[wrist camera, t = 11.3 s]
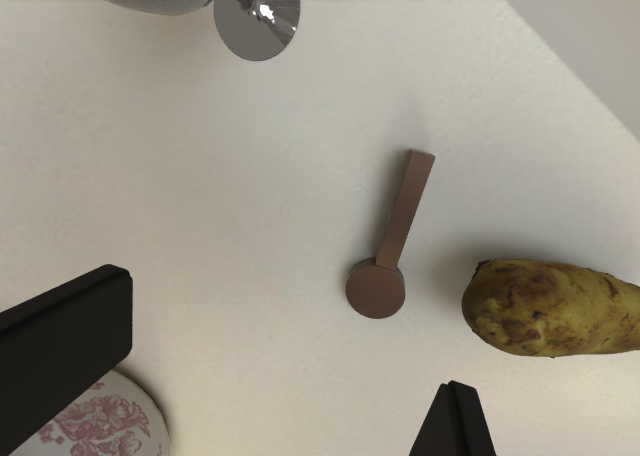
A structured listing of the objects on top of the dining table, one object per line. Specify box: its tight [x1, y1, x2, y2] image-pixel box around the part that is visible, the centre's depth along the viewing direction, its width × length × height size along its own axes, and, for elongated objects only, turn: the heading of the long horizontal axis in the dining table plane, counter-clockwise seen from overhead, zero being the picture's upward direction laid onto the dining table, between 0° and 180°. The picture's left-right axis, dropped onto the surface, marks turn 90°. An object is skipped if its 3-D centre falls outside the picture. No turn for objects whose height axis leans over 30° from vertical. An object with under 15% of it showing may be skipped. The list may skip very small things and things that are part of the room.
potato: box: [462, 259, 640, 358], centre depth 21 cm, size 8×13×8 cm, turn 62°
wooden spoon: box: [346, 149, 435, 319], centre depth 25 cm, size 14×5×3 cm, turn 166°
